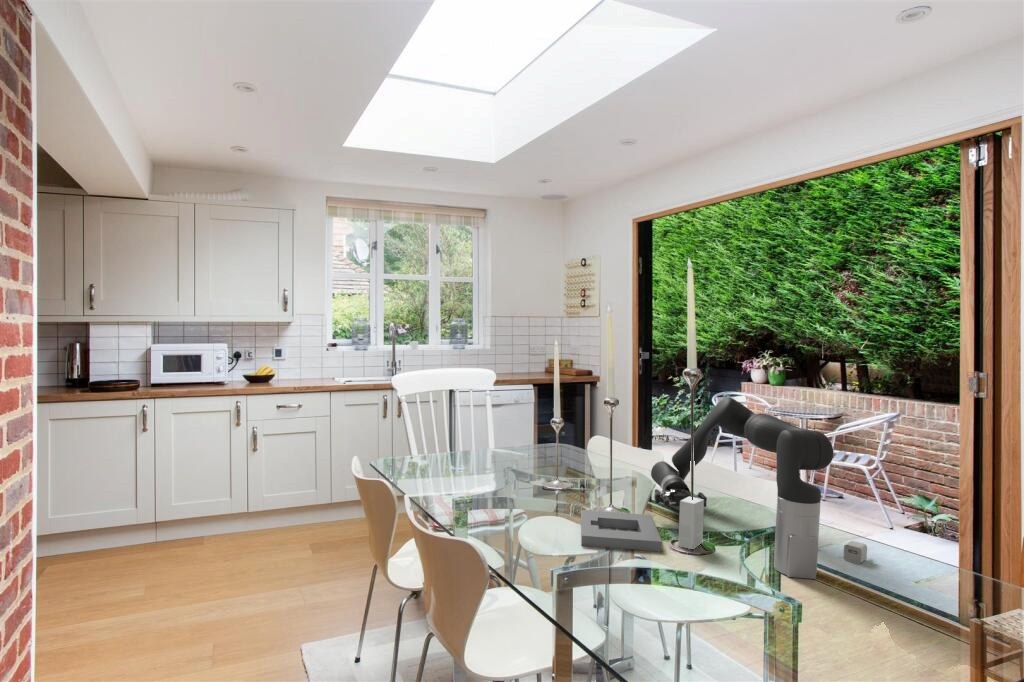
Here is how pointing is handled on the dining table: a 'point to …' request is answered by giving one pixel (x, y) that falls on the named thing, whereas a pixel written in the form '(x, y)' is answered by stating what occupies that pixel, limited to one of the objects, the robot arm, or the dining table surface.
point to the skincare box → (691, 522)
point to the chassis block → (619, 539)
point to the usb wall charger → (855, 552)
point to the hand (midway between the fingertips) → (683, 505)
